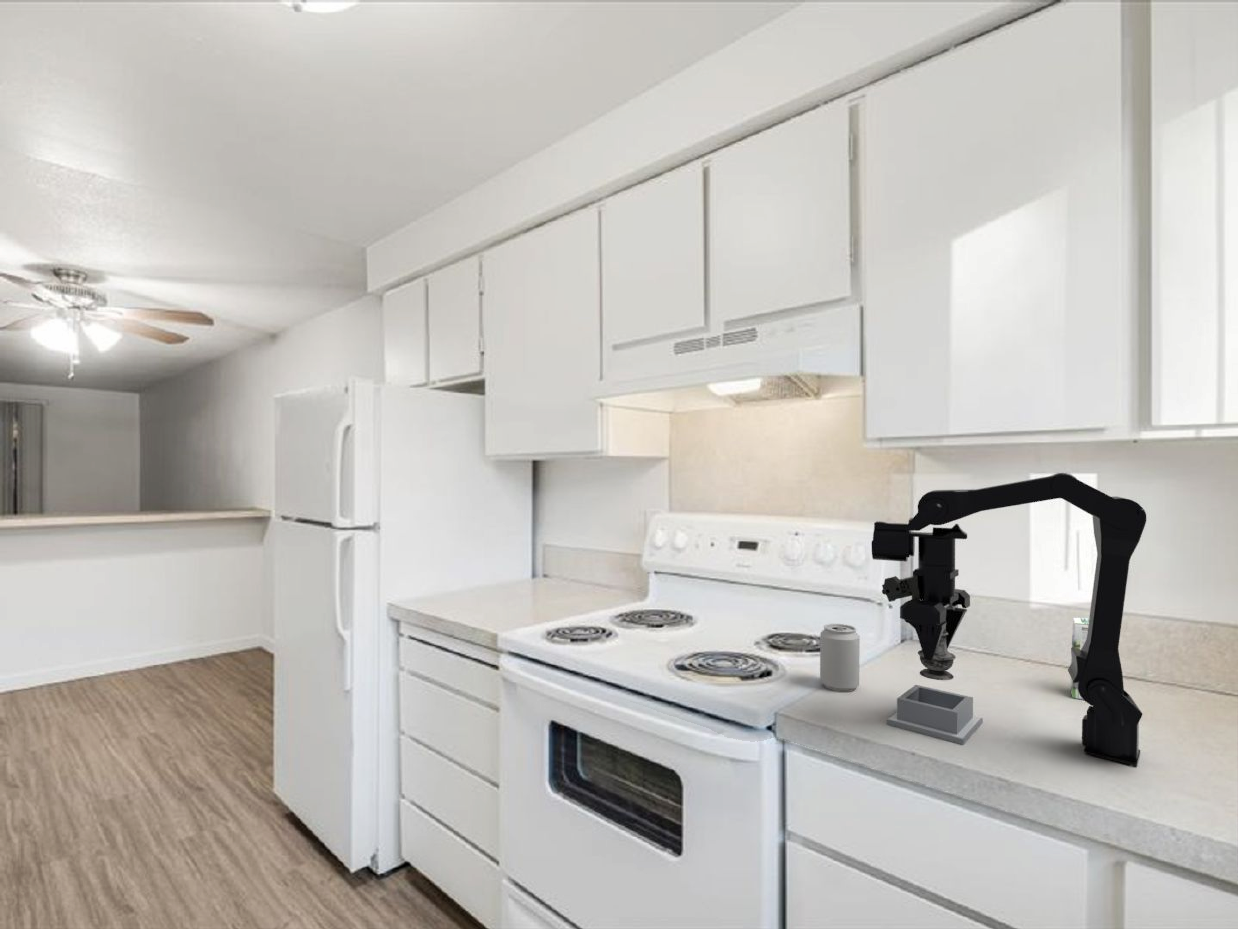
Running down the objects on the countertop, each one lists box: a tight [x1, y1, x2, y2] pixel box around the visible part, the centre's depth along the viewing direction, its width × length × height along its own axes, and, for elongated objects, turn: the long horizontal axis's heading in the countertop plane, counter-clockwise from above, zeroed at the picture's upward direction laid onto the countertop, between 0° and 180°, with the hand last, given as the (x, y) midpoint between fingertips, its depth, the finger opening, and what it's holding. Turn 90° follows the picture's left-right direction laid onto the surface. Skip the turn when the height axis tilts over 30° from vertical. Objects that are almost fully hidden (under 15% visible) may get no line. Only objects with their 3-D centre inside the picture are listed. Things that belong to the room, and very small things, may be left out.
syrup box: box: [1070, 617, 1089, 701], centre depth 127 cm, size 6×6×14 cm
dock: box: [886, 684, 984, 745], centre depth 114 cm, size 12×12×4 cm
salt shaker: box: [917, 618, 957, 681], centre depth 114 cm, size 6×6×12 cm
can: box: [819, 623, 861, 692], centre depth 133 cm, size 8×8×12 cm
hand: (936, 654), depth 114 cm, fingers closed on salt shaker, 8 cm apart
